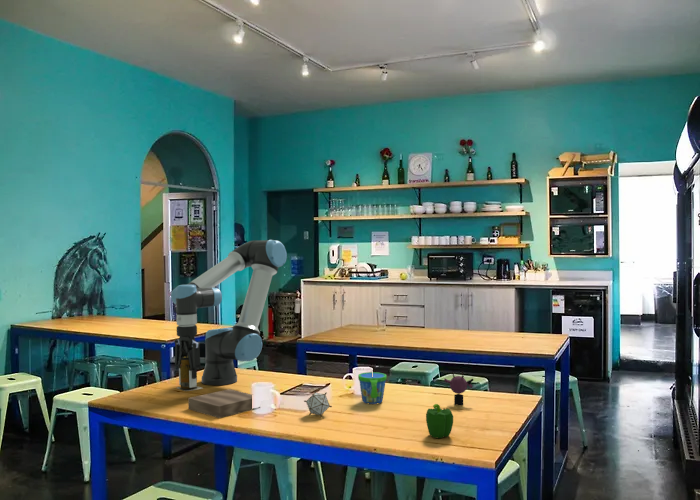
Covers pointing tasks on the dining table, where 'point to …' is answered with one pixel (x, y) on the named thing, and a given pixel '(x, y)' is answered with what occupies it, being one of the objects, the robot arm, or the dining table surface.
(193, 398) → the block
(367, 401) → the snack cup
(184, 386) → the condiment
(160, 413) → the dining table surface
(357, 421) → the dining table surface
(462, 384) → the figurine
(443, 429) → the bell pepper
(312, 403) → the game die
